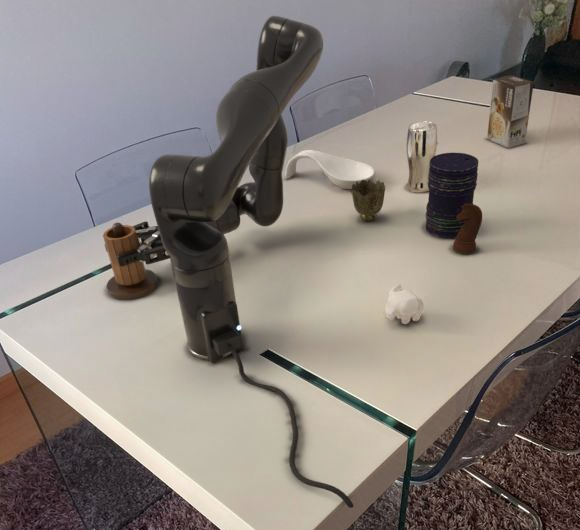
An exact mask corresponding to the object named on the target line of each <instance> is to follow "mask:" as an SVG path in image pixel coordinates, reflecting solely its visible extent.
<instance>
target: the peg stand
mask: <svg viewBox="0 0 580 530" xmlns="http://www.w3.org/2000/svg"><path fill="white" fill-rule="evenodd" d="M123 225H124V224H122V223H121V222H114V223H113V224H112V227H111V228H112V229H113V233H114V236H115V238H121V237H124V236H125V232H124V228H123ZM145 270H146V278H145V279H144V280H142V281H141V282H139V283H136V284H133V285H121V284H118V283H117V282H116V280H115V276H114V275H113V276H112V277H111V278H110V279H109V280H108V281H107V283H106V289H107V293H108V295H109V296H110V297H111V298H113V299H116V300H121V301H131V300H136V299H140V298H143V297H145V296H147V295H149V294H151V293H152V292H154V291H155V290H156V289H157V287H158V285H159V281H158V277H157V274H156V273H155V272H154V271H152V270H150V269H146V268H145Z"/></svg>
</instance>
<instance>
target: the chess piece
mask: <svg viewBox="0 0 580 530" xmlns="http://www.w3.org/2000/svg"><path fill="white" fill-rule="evenodd" d="M464 204H465V205H463V206H461V208H462V209H463V210H462V212H461V213H460V214H459V215H458V216H457V217H456V219H457V221H458V222H459V221H461V220H465V219H467V221H466V222H465V223H464V224H463V226H462V227H461V229H460V231H459V232H458V235H457V236H456V238H455V240H453V245H452V250H453V252H454V253H456V254H459V255H462V256H463V255H465V256H466V255H471V254H474V253H475V252H476V251H477V242H476V239H477V236H478V235H479V234H478V233H479V231H480V228H481V226H482V222H483V211H482V208H481V207H479V206H478V205H477V204H474V203H473V204H466V203H464Z"/></svg>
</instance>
